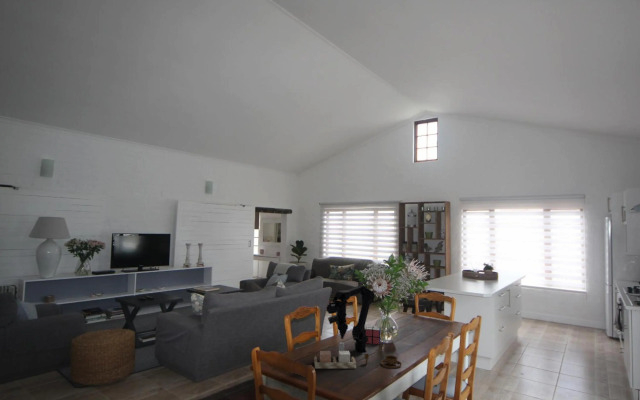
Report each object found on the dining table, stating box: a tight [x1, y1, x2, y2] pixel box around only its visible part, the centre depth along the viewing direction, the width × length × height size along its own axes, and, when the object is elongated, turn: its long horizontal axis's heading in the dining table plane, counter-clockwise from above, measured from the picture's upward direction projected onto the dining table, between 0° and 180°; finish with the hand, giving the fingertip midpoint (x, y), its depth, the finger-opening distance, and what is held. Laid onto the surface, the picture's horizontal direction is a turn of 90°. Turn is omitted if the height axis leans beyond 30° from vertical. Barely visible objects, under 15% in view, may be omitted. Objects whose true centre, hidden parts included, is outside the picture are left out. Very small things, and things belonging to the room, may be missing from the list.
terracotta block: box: [319, 350, 332, 363], centre depth 211 cm, size 6×6×7 cm
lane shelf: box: [313, 356, 357, 369], centre depth 211 cm, size 24×10×3 cm, turn 93°
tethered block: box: [338, 341, 351, 363], centre depth 218 cm, size 6×19×8 cm, turn 3°
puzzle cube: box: [365, 325, 381, 345], centre depth 256 cm, size 10×10×10 cm
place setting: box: [364, 353, 402, 369], centre depth 215 cm, size 18×20×6 cm
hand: (341, 336), depth 226 cm, fingers open, 9 cm apart
